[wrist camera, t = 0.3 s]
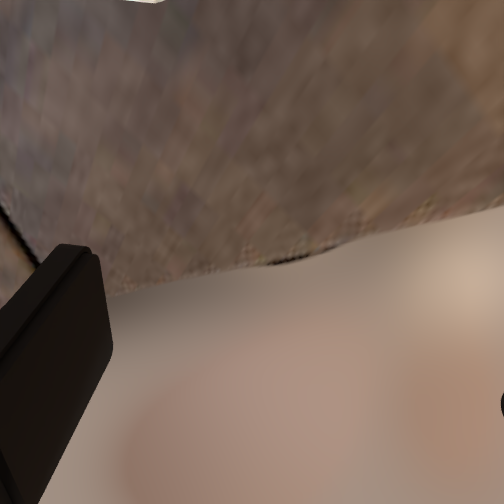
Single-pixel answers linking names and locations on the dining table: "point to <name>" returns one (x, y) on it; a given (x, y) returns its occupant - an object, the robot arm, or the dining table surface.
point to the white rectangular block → (149, 0)
